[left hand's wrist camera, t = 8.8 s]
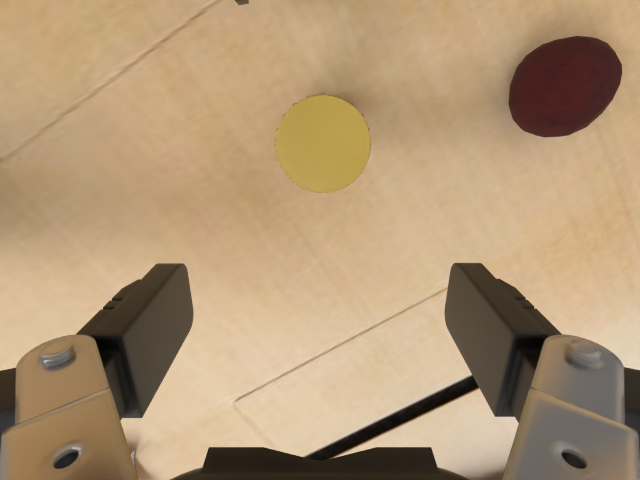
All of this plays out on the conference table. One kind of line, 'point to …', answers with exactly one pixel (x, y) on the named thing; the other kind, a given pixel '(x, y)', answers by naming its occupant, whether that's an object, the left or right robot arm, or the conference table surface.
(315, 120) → the lid
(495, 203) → the conference table surface
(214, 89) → the conference table surface
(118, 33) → the conference table surface
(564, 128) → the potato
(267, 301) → the conference table surface
